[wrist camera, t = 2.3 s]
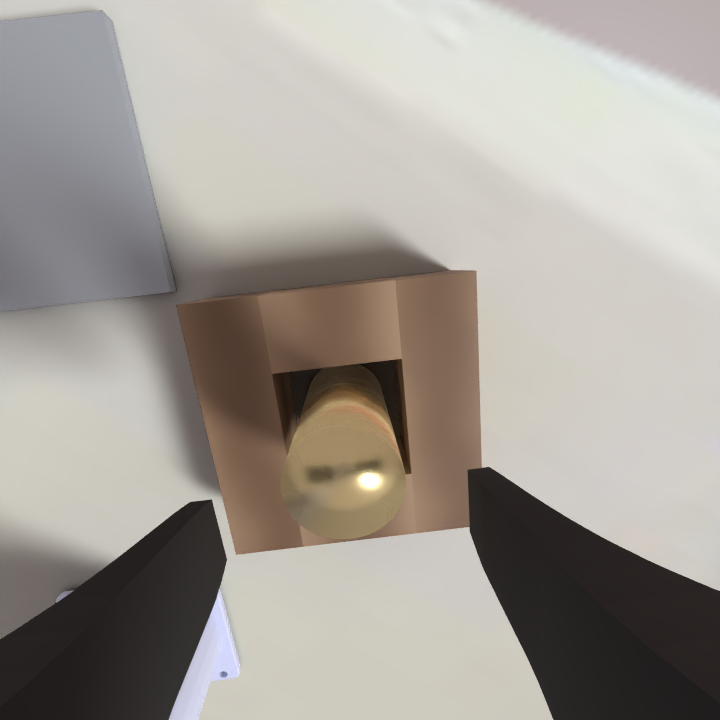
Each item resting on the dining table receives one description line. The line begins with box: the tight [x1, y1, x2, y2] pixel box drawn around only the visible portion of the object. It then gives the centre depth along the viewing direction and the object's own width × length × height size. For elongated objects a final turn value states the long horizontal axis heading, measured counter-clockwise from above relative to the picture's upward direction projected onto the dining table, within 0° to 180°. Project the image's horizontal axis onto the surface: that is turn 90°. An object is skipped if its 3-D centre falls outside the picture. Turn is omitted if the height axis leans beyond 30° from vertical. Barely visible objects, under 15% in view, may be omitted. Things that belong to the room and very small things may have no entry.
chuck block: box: [176, 270, 482, 555], centre depth 17 cm, size 12×12×4 cm
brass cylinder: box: [281, 364, 406, 540], centre depth 15 cm, size 4×4×8 cm
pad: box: [0, 10, 176, 312], centre depth 16 cm, size 11×11×1 cm
